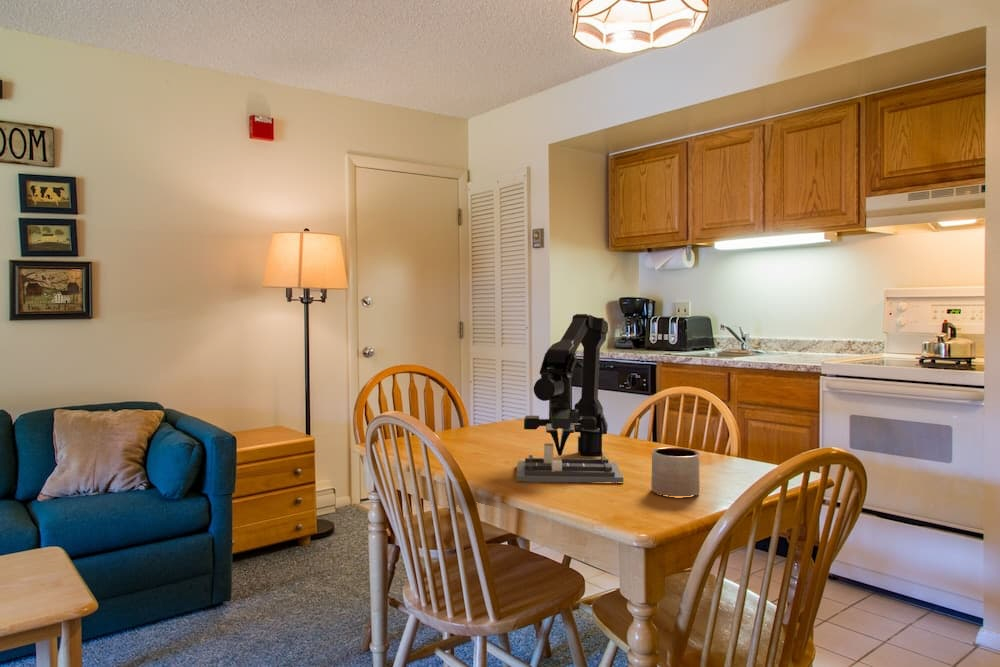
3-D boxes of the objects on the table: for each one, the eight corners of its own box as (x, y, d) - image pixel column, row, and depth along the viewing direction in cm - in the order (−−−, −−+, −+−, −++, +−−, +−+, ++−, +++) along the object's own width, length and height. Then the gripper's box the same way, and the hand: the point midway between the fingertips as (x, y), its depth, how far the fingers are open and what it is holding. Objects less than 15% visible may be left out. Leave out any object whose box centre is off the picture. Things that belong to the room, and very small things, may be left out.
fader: (552, 462, 180) (552, 442, 179) (553, 465, 176) (553, 445, 176) (543, 462, 180) (543, 442, 179) (544, 465, 176) (544, 445, 176)
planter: (653, 498, 153) (653, 456, 153) (649, 485, 164) (649, 446, 163) (702, 500, 152) (703, 457, 151) (695, 487, 162) (696, 447, 162)
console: (615, 467, 181) (615, 451, 181) (623, 483, 165) (623, 465, 165) (517, 466, 182) (517, 449, 182) (516, 482, 166) (516, 463, 166)
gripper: (523, 400, 169) (523, 462, 170) (599, 400, 168) (598, 463, 169) (524, 394, 180) (524, 452, 181) (594, 394, 180) (594, 453, 180)
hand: (559, 455), depth 178 cm, fingers closed
